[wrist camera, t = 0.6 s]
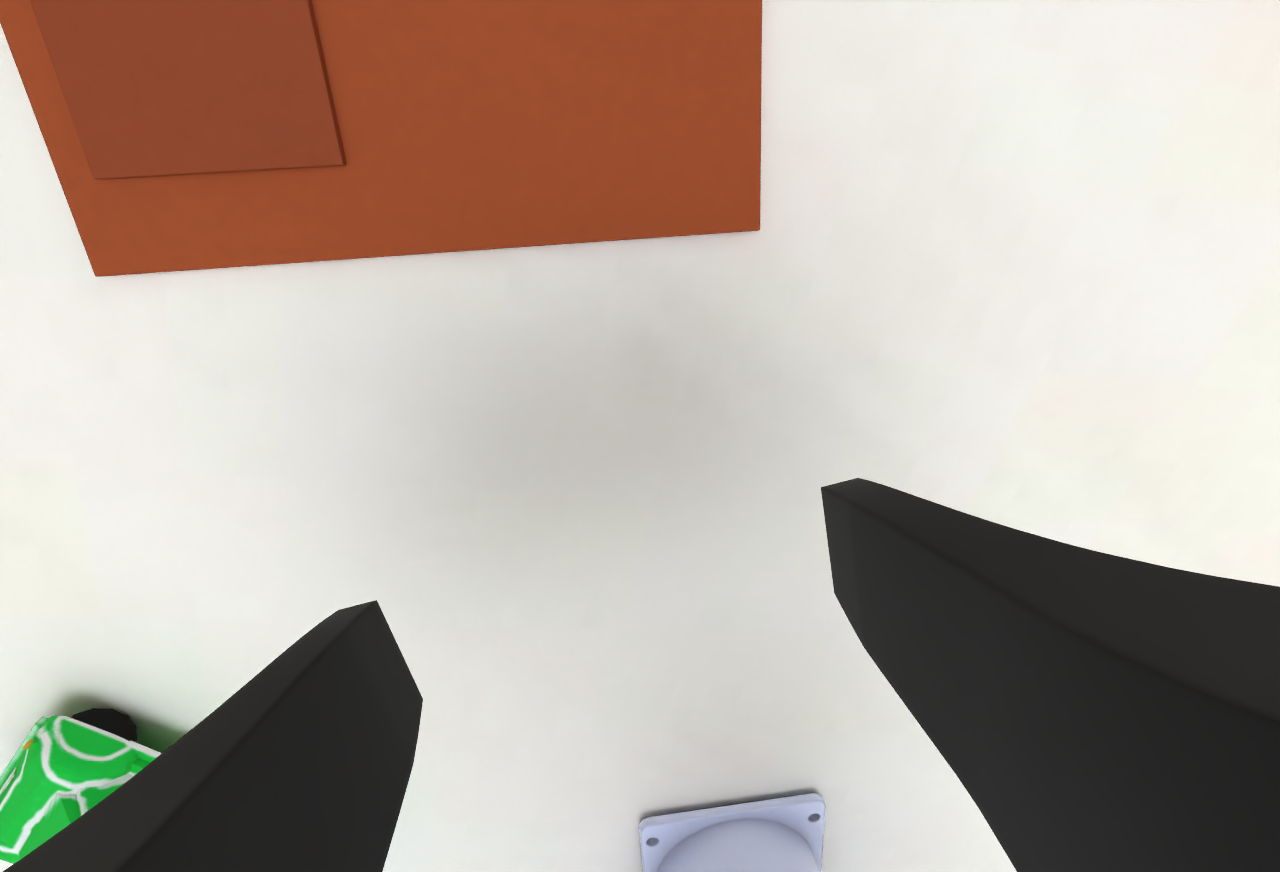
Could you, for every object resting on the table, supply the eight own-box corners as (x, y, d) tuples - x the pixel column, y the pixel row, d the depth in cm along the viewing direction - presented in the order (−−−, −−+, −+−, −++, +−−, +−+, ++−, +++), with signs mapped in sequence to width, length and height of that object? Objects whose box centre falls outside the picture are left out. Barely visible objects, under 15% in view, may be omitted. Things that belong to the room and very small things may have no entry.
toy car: (389, 818, 24) (351, 942, 19) (321, 893, 25) (271, 1027, 21) (73, 684, 20) (-54, 801, 16) (9, 778, 21) (-125, 912, 17)
